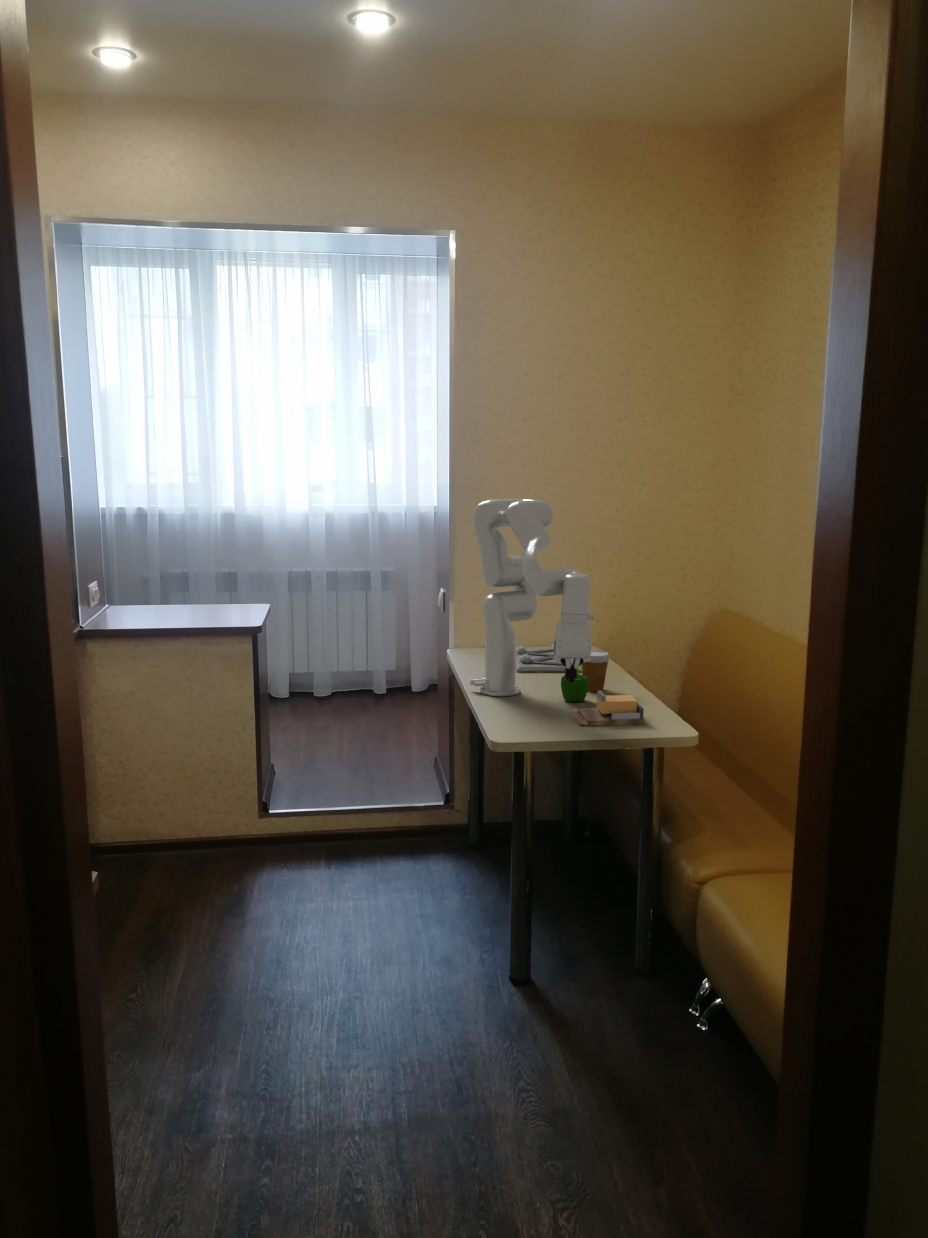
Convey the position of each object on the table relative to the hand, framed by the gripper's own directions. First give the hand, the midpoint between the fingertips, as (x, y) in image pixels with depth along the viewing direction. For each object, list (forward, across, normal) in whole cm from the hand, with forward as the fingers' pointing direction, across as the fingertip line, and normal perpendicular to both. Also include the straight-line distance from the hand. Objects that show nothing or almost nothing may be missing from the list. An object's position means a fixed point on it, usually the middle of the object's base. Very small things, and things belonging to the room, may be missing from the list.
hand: (570, 681), depth 263 cm
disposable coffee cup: (+12, -15, -30) cm, 36 cm away
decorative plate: (+15, -6, -68) cm, 70 cm away
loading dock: (+11, -11, +2) cm, 15 cm away
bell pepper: (+12, -6, -18) cm, 23 cm away
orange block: (+9, -14, +2) cm, 16 cm away
